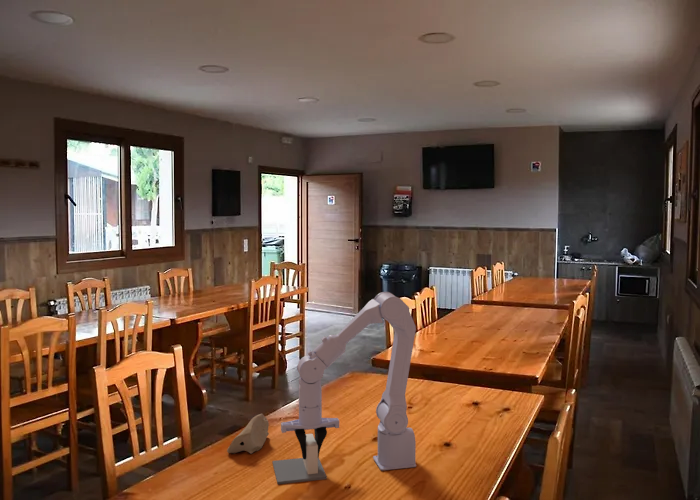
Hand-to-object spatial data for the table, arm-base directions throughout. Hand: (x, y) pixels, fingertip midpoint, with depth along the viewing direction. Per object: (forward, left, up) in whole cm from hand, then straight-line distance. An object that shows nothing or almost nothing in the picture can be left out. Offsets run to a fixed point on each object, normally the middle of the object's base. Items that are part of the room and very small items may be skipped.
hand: (310, 457), depth 151 cm
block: (0, 0, -3) cm, 3 cm away
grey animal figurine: (+14, -18, -4) cm, 23 cm away
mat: (+3, 0, -3) cm, 4 cm away
